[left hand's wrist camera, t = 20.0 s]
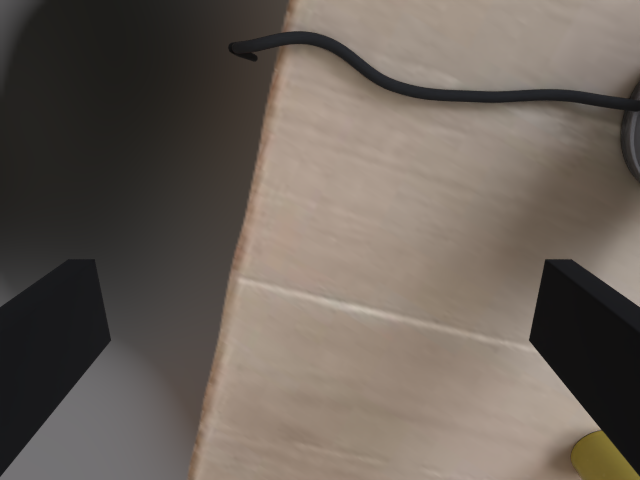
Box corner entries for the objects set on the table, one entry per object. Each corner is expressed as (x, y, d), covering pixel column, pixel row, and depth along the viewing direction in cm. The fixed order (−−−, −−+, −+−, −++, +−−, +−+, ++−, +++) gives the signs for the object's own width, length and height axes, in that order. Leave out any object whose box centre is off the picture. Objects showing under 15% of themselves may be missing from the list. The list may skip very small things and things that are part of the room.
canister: (643, 449, 54) (693, 506, 47) (595, 483, 56) (636, 542, 49) (605, 420, 52) (651, 474, 45) (558, 456, 55) (594, 513, 47)
